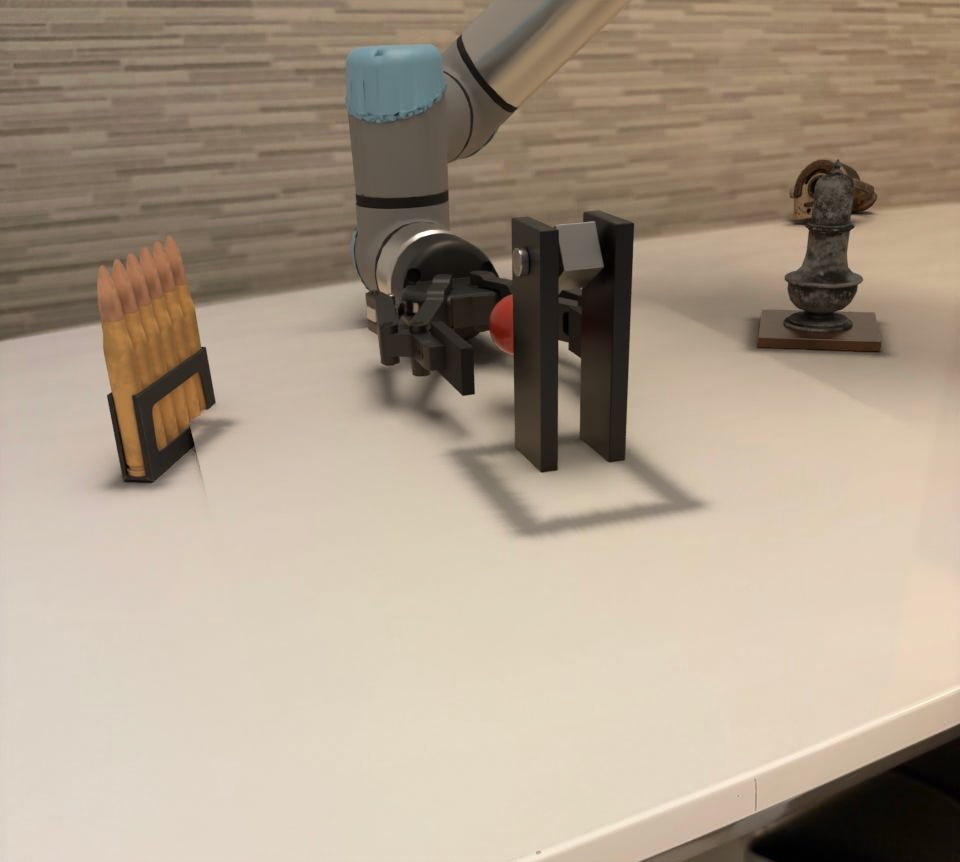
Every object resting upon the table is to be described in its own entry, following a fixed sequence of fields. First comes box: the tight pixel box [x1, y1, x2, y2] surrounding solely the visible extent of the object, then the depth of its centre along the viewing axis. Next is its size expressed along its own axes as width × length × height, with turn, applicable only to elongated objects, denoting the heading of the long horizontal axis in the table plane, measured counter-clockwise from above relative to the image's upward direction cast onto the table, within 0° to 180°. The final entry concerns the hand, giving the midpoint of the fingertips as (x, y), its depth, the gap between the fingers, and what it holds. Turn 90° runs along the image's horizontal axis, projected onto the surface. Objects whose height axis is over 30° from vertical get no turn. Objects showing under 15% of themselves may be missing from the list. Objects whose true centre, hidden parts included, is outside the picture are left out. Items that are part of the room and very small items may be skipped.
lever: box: [489, 221, 604, 356], centre depth 61 cm, size 13×4×4 cm
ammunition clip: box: [96, 234, 216, 482], centre depth 64 cm, size 11×2×12 cm, turn 170°
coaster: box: [757, 308, 883, 352], centre depth 86 cm, size 9×9×1 cm
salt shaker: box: [783, 158, 864, 332], centre depth 82 cm, size 6×6×12 cm
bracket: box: [510, 209, 635, 474], centre depth 58 cm, size 12×9×14 cm
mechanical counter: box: [789, 157, 878, 222], centre depth 128 cm, size 7×13×10 cm
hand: (542, 362), depth 62 cm, fingers open, 8 cm apart
